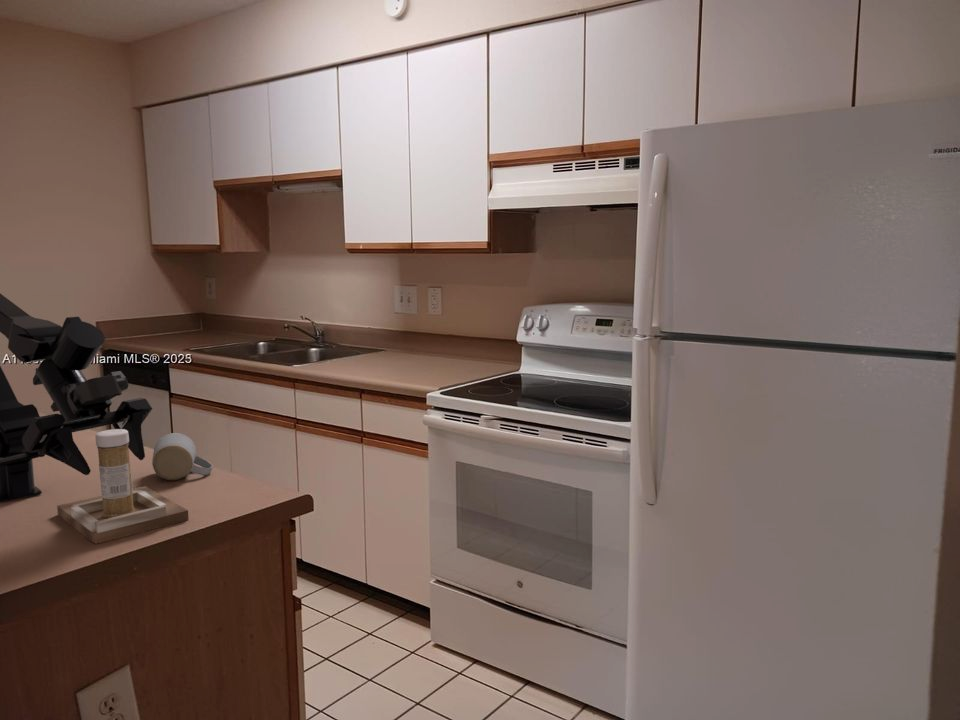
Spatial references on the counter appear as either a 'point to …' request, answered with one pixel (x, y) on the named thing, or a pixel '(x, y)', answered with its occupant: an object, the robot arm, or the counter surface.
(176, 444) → the ceramic mug
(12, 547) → the counter surface
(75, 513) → the socket board
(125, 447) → the sprinkles bottle
